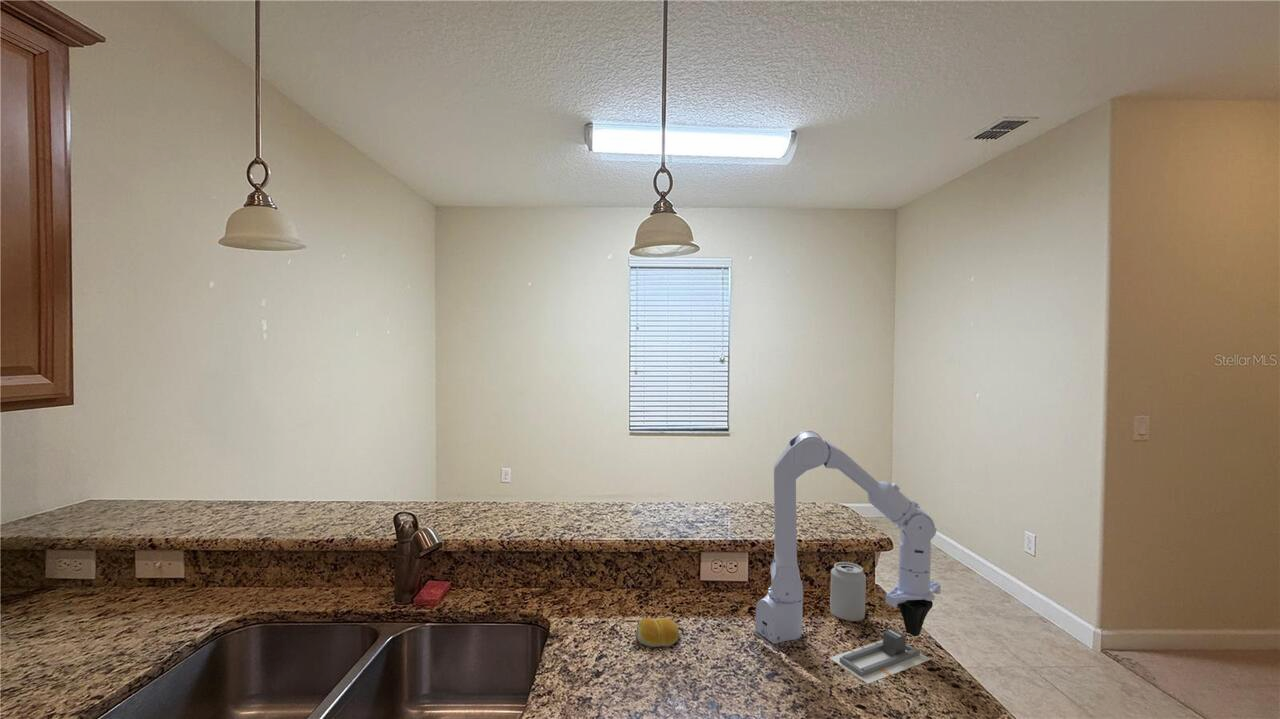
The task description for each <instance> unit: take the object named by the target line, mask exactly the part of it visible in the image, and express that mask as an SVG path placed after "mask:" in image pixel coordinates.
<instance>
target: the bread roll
mask: <svg viewBox="0 0 1280 719" xmlns="http://www.w3.org/2000/svg"><path fill="white" fill-rule="evenodd" d="M635 634H636V638H637V641H638V642H639V643H640V644H641V645H643V646H646V647H651V648H656V647H657V648H659V647H671V646H673V645H674V644H675V643H676V642H677V641H678V640H679V637H680V628H679V626H678V624H677V623H676V622H675V621H674V620H673V619H670V618H666V617H658V618H656V619H654V618H652V617H651V618H650V617H646V618H642V619H640V621H639V623H638V625H637V628H636V631H635Z"/></svg>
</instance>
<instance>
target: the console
mask: <svg viewBox="0 0 1280 719" xmlns="http://www.w3.org/2000/svg"><path fill="white" fill-rule="evenodd" d="M829 659H830V660H832V661H833V662H835V664H837V665H839V666H840V667H842V668H843V669H845V670H846V671H848V672H849V673H850V674H852V675H854V676H855V677H857V678H858V679H860V680H861V681H862V682H864V683H866V684H868V685H869V684H871V683H874V682H877V681H879V680H882V679H885V678H887V677H890V676H891V675H895V674H897V673H899V672H903V671H905V670H908V669H910V668H912V667H915V666H918V665H921V664H923V663H926V662H928V661H931V660H932V658H929V656H926V655H924V654H923V653H921V650H919V649H917V648H915V647H913V646H911V645H910V644H908V643H906V647H905V652H904V653H901V654H899V655H896V656H893V657H891V656H889V655H887V654H886V653H884V652H883V639H880V640H876V641H875V642H872V643H869V644H865V645H863V646H860V647H856V648H853V649H851V650H848V651H845V652H842V653H839V654H836V655H833V656H830V657H829Z"/></svg>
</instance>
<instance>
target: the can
mask: <svg viewBox="0 0 1280 719" xmlns="http://www.w3.org/2000/svg"><path fill="white" fill-rule="evenodd" d="M833 566H834V567H832V569H831V570H830V595H829V596H830V598H829V599H830V600H829V612H830V613H831V615H833V616H834V617H836V618H838V619H840V620H841V619H842V620H845V621H850V622H859V621H863V620H864V619H865V617H866V590H867V589H866V587H867V584H866V583H867V575H866V574H865V572H864V568H863V567H862V566H860V565H859V564H857V563H853V562H848V561H839V562H835V563H834V564H833Z"/></svg>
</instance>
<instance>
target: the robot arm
mask: <svg viewBox="0 0 1280 719" xmlns="http://www.w3.org/2000/svg"><path fill="white" fill-rule="evenodd" d="M821 466H824V468H826V469H832V470H833V469H835V470H836V469H837V470H839V471H840V472H841V473H842V474H844V475H845V476H846V477H848V479H849V480H851V481H853V482H854V483H855V484H856V485H858V486H859V487H860V488H861V489H863V490H864V491H865V492H866V493H867V501H868V502H869V503H870V504H871V505H872V506H873V507H874V508H875V509H877V510H878V511H879V512H880V513H881V514H883V515H884V517H886V518H887V519H889V520H890V522H892V523H893V524H895V525H897V526H898V528H901V529H900V531H899V536H900V537H899V549H898V550H899V552H898V584H897V585H896V586H894V587H893V589H892V590H891V591H890V592H887V593H885V604H886V605H888V606H891V607H892V608H896V607H898V608H899V611H900V614H901V617H902V620H903V624H904V628H905V632H906V633H907V634H909V635H911V636H912V637H918V636H920V634H921V633H922V632H921V631H922V628H923V625H924V622H925V619H926V617H927V615H928V613H929V612H930V611H931V609H932V608H933V604H934V600H935V599H936V597H935V595H934V594H937V595H939V594H941V586H942V584H940V583H939V582H936V581H934V580H931V562H932V561H931V558H932V557H931V556H932V545H931V543H932V542H931V541H932V539H933V538H934V537H935V536H936V534H937V528H936V527H935V523H934V521H933V518H932V517H931V516H929V515H928V514H927V513H926V512H925V511H924V510H923V509H922V508H921V506H919V503H917V502H916V500H911V499H909V498H908V497H907V496H906V495H904V493H902V492H901V491H900V490H901V489H900V487H899V486H898V485H897V484H896V483H895V482H892V484H891V483H890V482H889V481H885V480H882V481H881V480H880V481H879V480H876V479H875V478H874V477H873V476H872V475H870V473H868V472H867V471H866V470H865V469H864V468H863V467H862V466H861V465H859V464H858V463H857V462H856V461H854V459H853V458H852V457H850V456H849V455H848V454H847V453H846V452H845V451H844V450H842V449H841V448H839V447H838V446H837V445H835V444H833V443H832V442H831V441H829V440H827V439H825V438H822V437H821V435H819V434H818V433H817V432H815V431H812V430H803V431H801V432H798V433H797V435H796V434H795V436H793V437H792V438H791V439H789V441H788V442H787V445H786V447H785V449H784V450H783V451H782V453H781V454H780V456H779V457H778V459H777V460H776V462H775V463H774V466H773V498H774V499H773V506H774V507H773V508H774V509H773V513H774V516H773V517H774V524H773V525H774V528H773V529H774V548H773V549H774V552H773V554H774V557H773V560H772V562H771V563H770V567H769V570H770V571H769V572H770V577H771V584H770V587H768V589H767V593H766V595H765V596H764V597H763V598H761V599H759V600H758V601H757V603H756V605H755V623H754V624H755V627H754V629H755V631H754V630H752V634H753V635H755V636H757V637H758V638H759V639H760V640H762V641H763V642H765V643H766V644H767V645H769V647H771V648H773V649H774V650H775V651H780V648H778V647H776V646H775V644H779V643H782V642H786V641H795V640H798V639H800V638H801V637H802V634H803V607H804V606H803V602H804V595H803V591H804V585H803V582H802V580H801V576H800V568H799V567H800V566H799V565H798V556H797V555H798V553H797V550H798V549H797V548H798V546H797V545H798V544H797V541H798V540H797V539H798V538H797V480H798V478H799V477H801V476H803V475H804V474H805V473H806V472H807V471H809V470H812V469H815V468H818V467H821Z"/></svg>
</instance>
